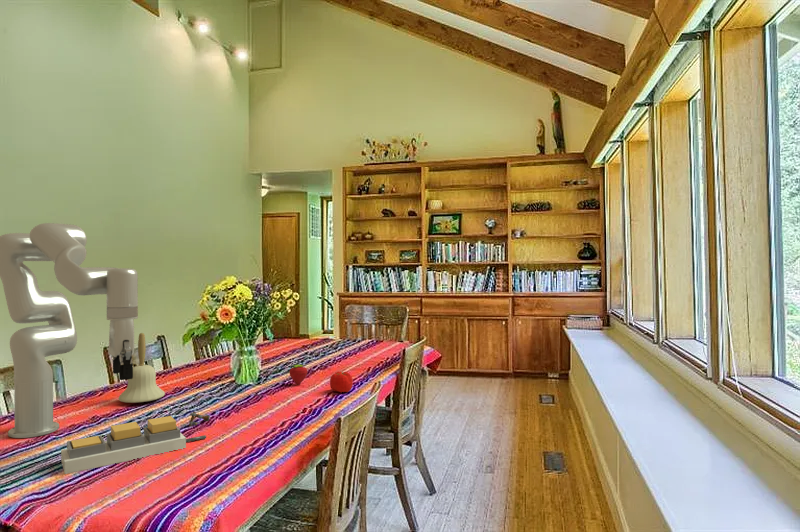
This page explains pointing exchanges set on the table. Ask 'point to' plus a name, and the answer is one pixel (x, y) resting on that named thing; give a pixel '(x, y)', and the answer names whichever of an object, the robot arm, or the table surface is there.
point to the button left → (85, 442)
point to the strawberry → (298, 373)
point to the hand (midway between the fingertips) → (122, 376)
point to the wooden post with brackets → (206, 417)
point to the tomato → (341, 382)
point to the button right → (161, 424)
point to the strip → (122, 449)
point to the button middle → (125, 431)
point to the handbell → (142, 380)
